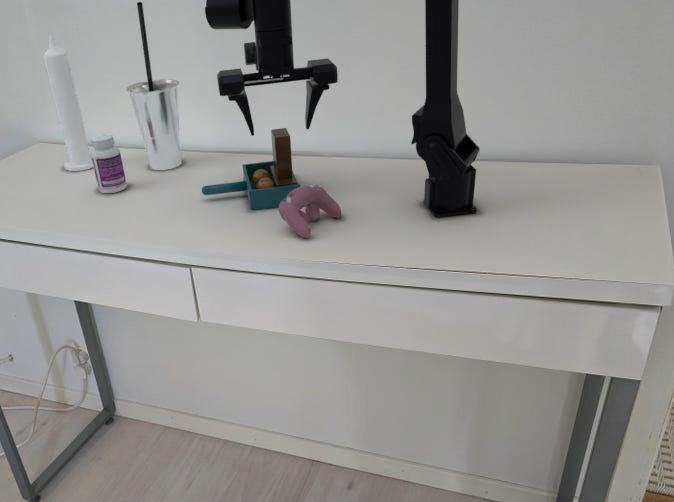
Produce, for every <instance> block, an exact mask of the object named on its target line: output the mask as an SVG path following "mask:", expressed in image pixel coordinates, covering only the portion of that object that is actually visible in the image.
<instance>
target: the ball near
mask: <svg viewBox="0 0 674 502" xmlns="http://www.w3.org/2000/svg"><path fill="white" fill-rule="evenodd" d="M272 187H275V184H274V182H273V181H272V180H271V179H270V178H262V179H260V180H259V181H258V183H257V186H256V189H264V188H272Z"/></svg>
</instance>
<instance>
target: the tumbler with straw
mask: <svg viewBox="0 0 674 502" xmlns="http://www.w3.org/2000/svg"><path fill="white" fill-rule="evenodd" d="M136 7H137V13H138V20H139V22H138V23H139V30H140V36H141V42H142V50H143V57H144V58H143V59H144V64H145V72H146V79H147V80H145V81H144V80H143V81H140V82H136V83H132V84H130V85H128V86H127V87H126V89H125V90H126V92H128V93H129V97H130V100H131V103H132V107H133V110H134V114H135V117H136V121H137V126H138V128H139V131H140V135H141V137H142V141H143V145H144V149H145V152H146V156H147V160H148V163H149V168H150V169H151V170H155V171H168V170H172V169H176V168H178V167H180V166H181V165H182V163H183V161H182V148H181V137H180V136H181V135H180V130H181V129H180V113H179V94H178V86H179V85H180V81H178V80H177V79H171V78H168V79H167V78H163V79H162V78H161V79H159V78H158V79H153V75H152V67H151V60H150V51H149V43H148V37H147V29H146V21H145V13H144V6H143V2H141V1H138V2H136Z"/></svg>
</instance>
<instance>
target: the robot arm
mask: <svg viewBox="0 0 674 502" xmlns="http://www.w3.org/2000/svg"><path fill="white" fill-rule="evenodd" d="M291 4H292V2H291V0H206V1H205V7H204V14H205V19H206V21H207V24H208V25H209V28H211V29H212V30H247V29H249V28H250V27H251V25H252V23H253V25H254V26H253V27H254V37H255V38H254V40H255V41H252V42H244V43H243V50H244V61H245V65H246V66H253V65H255V70H256V71H257V72H251V73H243V71H242V68H231V69H224V70H219V71H218V73H217V75H216V81H217V88H218V93H219V96H221V97H227V98H228V101H229V102H235V103H236V105H237V107H238V108H239V110H240V112H241V113H242V115H243V118H244V120H245V122H246V125H247V126H248V130H249V132H250V134H251V137H254V136H255V127H254V122H253V117H252V113H251V109H250V104H249V99H248V95H247V92H246V88H247V87H256V86H263V85H273V84H282V83H289V82H297V81H305V88H306V89H305V90H306V95H305V96H306V97H305V115H304V122H305V129H306V130H310V128H311V125H312V121H313V119H314V115H315V112H316V109H317V106H318V104H319V102H320V99H321V98H322V95H323V93H324V91H328V90H330V85H332V84H336V83H338V81H339V80H338V78H339V77H338V67H337V66H336V64H335V63H334V62H333V61H331V60H330V59H329V58H328V57H327V58H321V59H320V58H319V59H310V60H307V63H306V66H302V67H295V64H294V63H295V61H294V59H295V58H294V44H293V43H294V41H293V24H292V23H293V22H292V5H291ZM424 5H425V11H424V13H425V17H424V18H425V21H424V22H425V24H424V25H425V100H424V104H423V105H422V106H421V107H420V108H418V110H416V112H414V113H413V114H412V115H411V123H412V130H413V135H412V139H411V145H414V144H415V149H416V154H417V156H418V157H419V158H421V159H422V160H423V162H424V163H425V166H426V170H427V173H428V177H427V178H425V180H424V195H423V204H424V205H425V207H426V208H427V209H428V210H429V211H430V213H431V214H432V215H433V216H434V217H436V218H442V217H448V216H449V217H450V216H456V215H466V214H473V213H477V212H478V208H477V207H476V206H475V205H474V197H475V187H476V186H475V185H476V178H477V168H475V166H473V165H472V164H473V163H474V162H475V161H476V159H477V157H478V155H479V153H480V150H481V148H480V147H479V146H478V145H477V144H476V142H475V141H474V140H473V139H472V138H471V136H469V134H468V133H467V127H466V121H465V114H464V109H463V106H462V103H461V100H460V96H459V94H458V59H459V56H458V54H459V53H458V52H459V0H424Z"/></svg>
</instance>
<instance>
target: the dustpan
mask: <svg viewBox="0 0 674 502" xmlns="http://www.w3.org/2000/svg"><path fill="white" fill-rule="evenodd" d="M273 165H274V162H273V160H270V161H262V162H260V161H259V162H252V163H244V164H242V166H241V167H242V174H243V180H242V181H234V182H225V183H224V182H223V183H217V184H209V185H208V184H207V185H203V186H202V188H201V193H202V195H204V196H211V195H212V196H213V195H219V194H227V193H236V192H245V191H246V194H247V200H248V203H249V207H250V209H253V210H254V211H257V210H266V209H273V208H279V204H280V203H281V201H283V199H284V198H285V197H286V196H287V195H288V194H289V193H290V192H291V191H293V190H294V189H296V188H298V187H301V183H298V184H297V185H289V186H280V187H272V188H264V189H256V186H255V185H254V184H253V181H252V176H253V174H254V172H255V171H257V170H259V169H263V170H266V171H267V172H268V173H269V175H270V166H273ZM270 179H271V175H270Z"/></svg>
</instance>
